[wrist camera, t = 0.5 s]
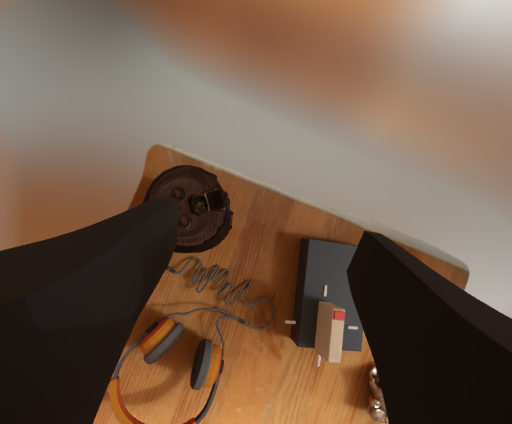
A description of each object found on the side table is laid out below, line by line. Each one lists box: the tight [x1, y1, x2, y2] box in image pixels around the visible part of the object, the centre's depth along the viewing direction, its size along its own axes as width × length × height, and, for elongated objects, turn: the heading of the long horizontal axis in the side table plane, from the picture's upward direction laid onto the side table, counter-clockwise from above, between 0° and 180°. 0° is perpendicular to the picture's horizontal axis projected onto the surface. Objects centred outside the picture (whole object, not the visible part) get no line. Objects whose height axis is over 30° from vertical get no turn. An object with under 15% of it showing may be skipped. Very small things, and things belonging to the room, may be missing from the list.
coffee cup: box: [143, 165, 234, 253], centre depth 29 cm, size 9×8×13 cm
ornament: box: [367, 366, 388, 423], centre depth 36 cm, size 8×7×4 cm
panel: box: [285, 239, 363, 366], centre depth 36 cm, size 16×11×3 cm
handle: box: [315, 301, 345, 363], centre depth 32 cm, size 6×2×4 cm, turn 172°
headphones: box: [109, 258, 275, 424], centre depth 32 cm, size 17×5×20 cm
